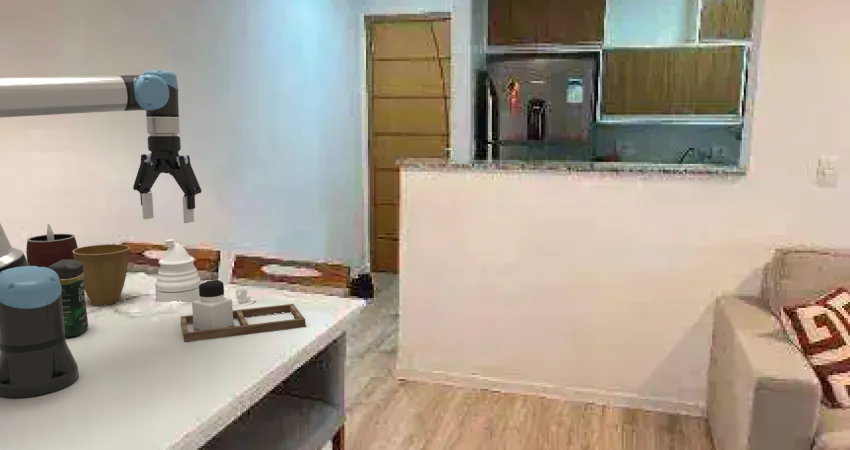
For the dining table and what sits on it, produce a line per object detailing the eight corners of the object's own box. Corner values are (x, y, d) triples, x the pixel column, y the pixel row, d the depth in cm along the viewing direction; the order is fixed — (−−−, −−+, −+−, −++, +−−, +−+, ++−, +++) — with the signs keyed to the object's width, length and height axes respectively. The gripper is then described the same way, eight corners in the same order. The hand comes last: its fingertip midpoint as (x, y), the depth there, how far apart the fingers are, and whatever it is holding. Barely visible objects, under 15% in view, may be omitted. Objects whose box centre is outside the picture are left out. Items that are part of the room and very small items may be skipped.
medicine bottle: (234, 325, 173) (231, 280, 171) (212, 333, 167) (209, 286, 165) (214, 321, 176) (212, 276, 174) (193, 328, 170) (190, 283, 168)
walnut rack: (305, 326, 173) (305, 319, 172) (184, 342, 162) (183, 334, 161) (293, 310, 187) (293, 303, 186) (180, 323, 176) (180, 316, 175)
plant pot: (84, 312, 186) (79, 256, 183) (72, 301, 197) (67, 248, 194) (140, 302, 195) (136, 249, 192) (125, 292, 206) (121, 241, 204)
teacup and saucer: (241, 297, 201) (240, 284, 201) (263, 300, 198) (262, 287, 198) (221, 305, 193) (221, 291, 193) (244, 308, 190) (243, 294, 190)
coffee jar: (80, 338, 165) (73, 264, 161) (45, 340, 163) (37, 266, 160) (93, 326, 174) (86, 256, 171) (60, 327, 173) (53, 257, 170)
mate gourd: (83, 293, 206) (77, 229, 202) (31, 300, 198) (24, 233, 195) (78, 282, 219) (73, 222, 215) (29, 288, 211) (23, 226, 208)
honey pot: (174, 306, 191) (170, 245, 188) (147, 300, 198) (142, 240, 195) (211, 296, 202) (207, 237, 199) (183, 290, 209) (179, 233, 206)
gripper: (214, 135, 163) (217, 221, 166) (138, 134, 173) (143, 215, 176) (191, 136, 156) (195, 226, 159) (114, 134, 166) (120, 218, 170)
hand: (168, 220), depth 168 cm, fingers open, 13 cm apart
